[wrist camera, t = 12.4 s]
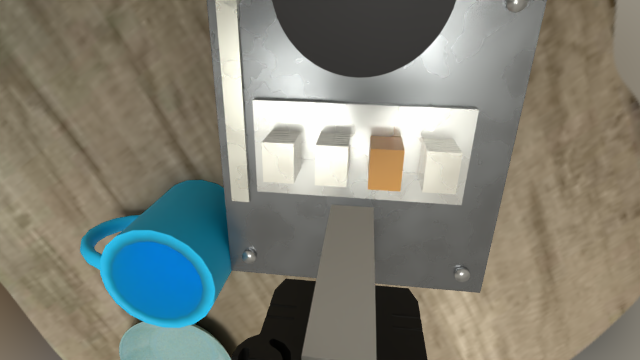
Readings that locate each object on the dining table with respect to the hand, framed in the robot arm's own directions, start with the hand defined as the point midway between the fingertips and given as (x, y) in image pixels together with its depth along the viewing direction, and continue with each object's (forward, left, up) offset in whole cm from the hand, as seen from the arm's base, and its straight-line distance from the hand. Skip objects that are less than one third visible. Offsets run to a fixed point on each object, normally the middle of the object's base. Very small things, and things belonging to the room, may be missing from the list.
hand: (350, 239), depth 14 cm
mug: (+9, -15, -16) cm, 24 cm away
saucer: (+25, -17, -16) cm, 34 cm away
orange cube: (0, +2, -10) cm, 10 cm away
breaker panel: (0, 0, -16) cm, 16 cm away
